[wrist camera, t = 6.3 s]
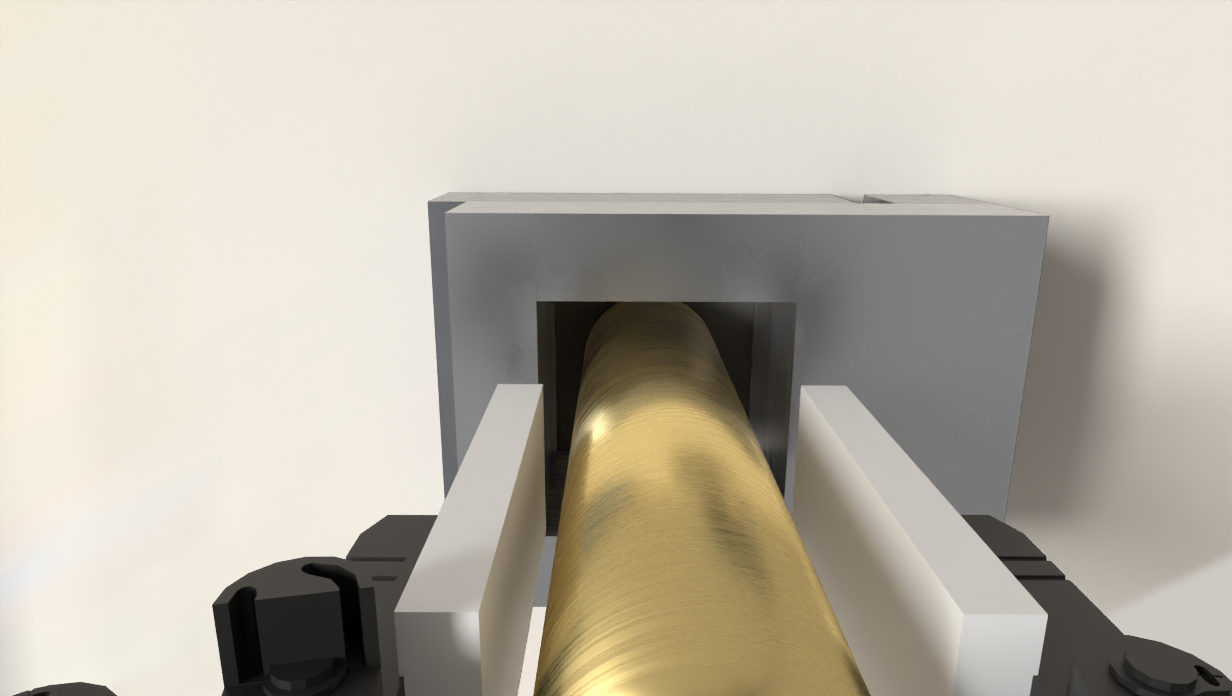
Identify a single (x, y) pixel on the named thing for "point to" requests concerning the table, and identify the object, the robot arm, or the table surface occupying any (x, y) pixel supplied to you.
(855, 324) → the grey block with pocket
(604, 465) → the pin
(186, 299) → the table surface
